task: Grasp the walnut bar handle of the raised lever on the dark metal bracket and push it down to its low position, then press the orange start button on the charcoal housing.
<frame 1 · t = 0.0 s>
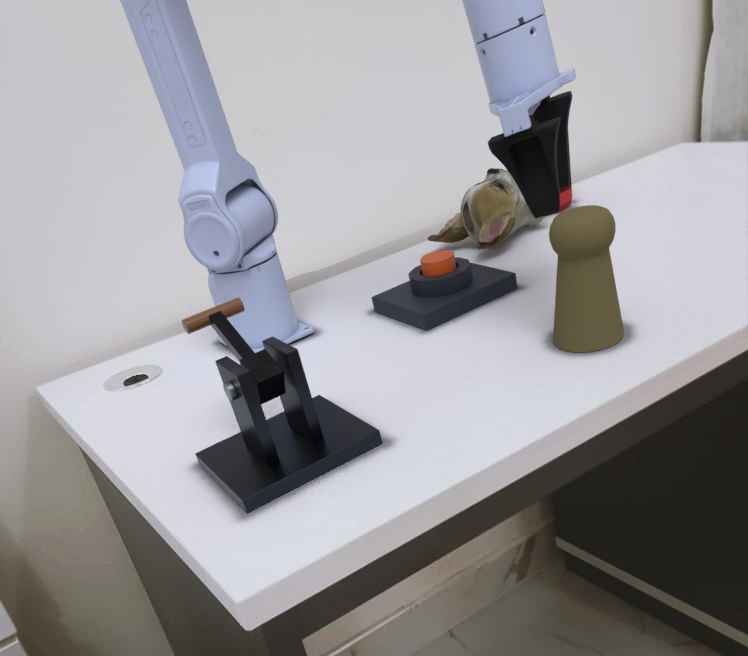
hand: (552, 200, 65), 11 cm above the table, tool pointing down, fingers open, 7 cm apart
button box: (444, 300, 81), on the table
button: (438, 264, 79), point 4 cm above the table, slide at 0.1 cm
ceramic sculpture: (498, 241, 94), on the table
bracket: (288, 454, 60), on the table
lever: (239, 348, 58), point 9 cm above the table, hinge at 25.0°
canned food: (542, 210, 101), on the table
olive pawn: (588, 339, 66), on the table
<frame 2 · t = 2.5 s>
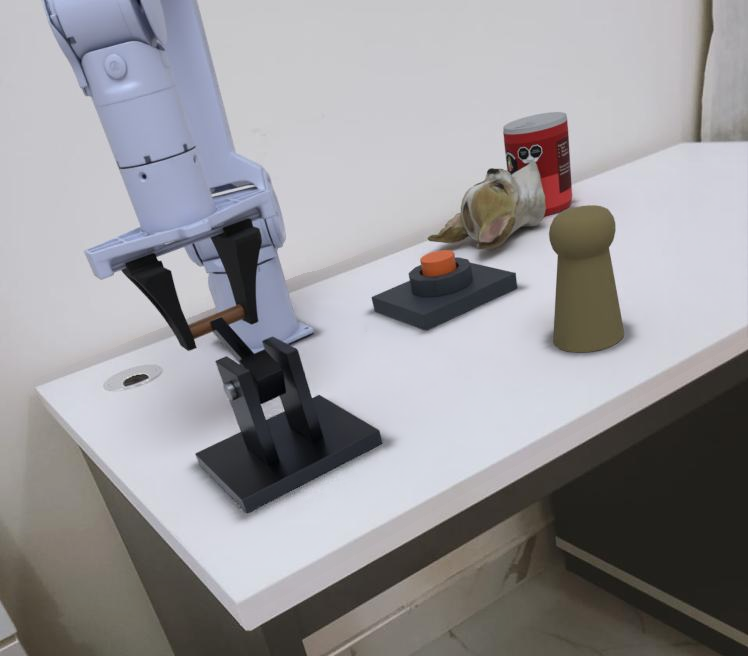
hand: (219, 333, 61), 9 cm above the table, tool pointing down, fingers closed on lever, 5 cm apart
lever: (240, 351, 58), point 8 cm above the table, hinge at 20.1°, touching gripper
everything else where it was.
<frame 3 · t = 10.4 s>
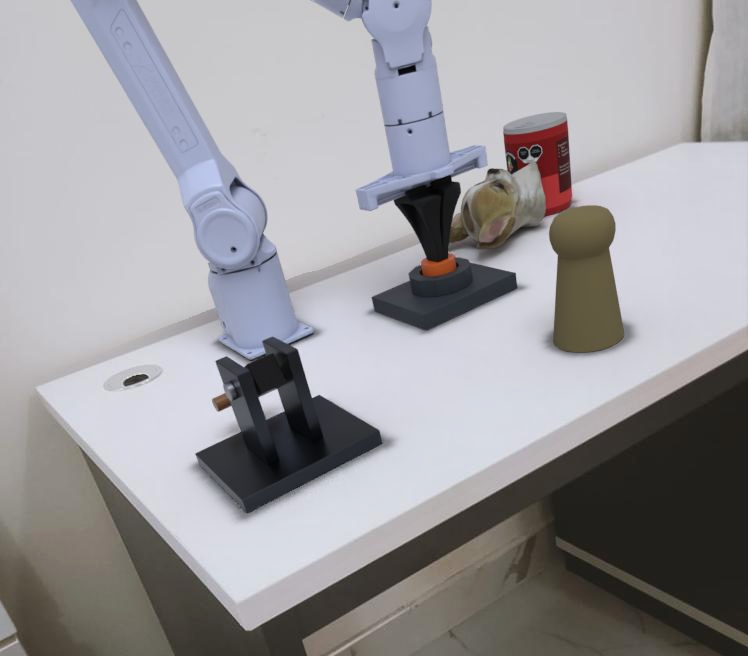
hand: (437, 259, 78), 4 cm above the table, tool pointing down, fingers closed, pressing on button
button: (438, 267, 79), point 4 cm above the table, slide at -0.2 cm, touching gripper
lever: (252, 384, 60), point 5 cm above the table, hinge at -27.1°
everything else where it was.
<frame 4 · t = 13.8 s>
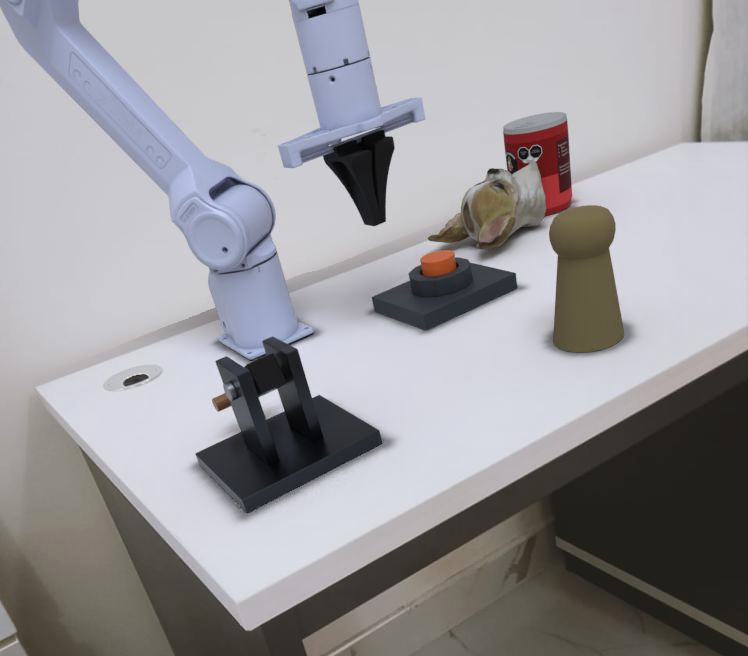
hand: (375, 223, 73), 10 cm above the table, tool pointing down, fingers closed
button: (438, 264, 79), point 4 cm above the table, slide at 0.1 cm
everything else where it was.
at the end: lever at -27° (first picture: +25°); button pushed in 1.2 cm at the most during the clip, back to where it started at the end; button slide at 0.1 cm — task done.
